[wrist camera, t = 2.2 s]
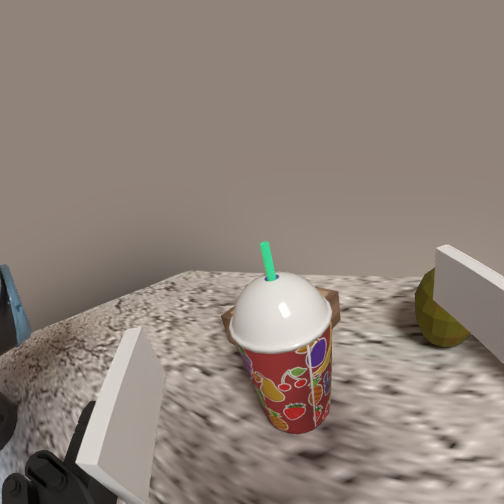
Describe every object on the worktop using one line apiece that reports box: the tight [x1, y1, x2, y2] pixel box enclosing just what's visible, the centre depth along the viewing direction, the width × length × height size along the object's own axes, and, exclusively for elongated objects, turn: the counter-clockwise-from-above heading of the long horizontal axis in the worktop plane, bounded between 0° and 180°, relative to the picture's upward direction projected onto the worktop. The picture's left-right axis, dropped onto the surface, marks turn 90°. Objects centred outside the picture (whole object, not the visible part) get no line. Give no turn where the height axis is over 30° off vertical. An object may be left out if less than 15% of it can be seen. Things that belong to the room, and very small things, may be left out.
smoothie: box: [229, 242, 332, 434], centre depth 25 cm, size 8×8×20 cm
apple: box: [415, 268, 471, 347], centre depth 30 cm, size 10×10×11 cm
